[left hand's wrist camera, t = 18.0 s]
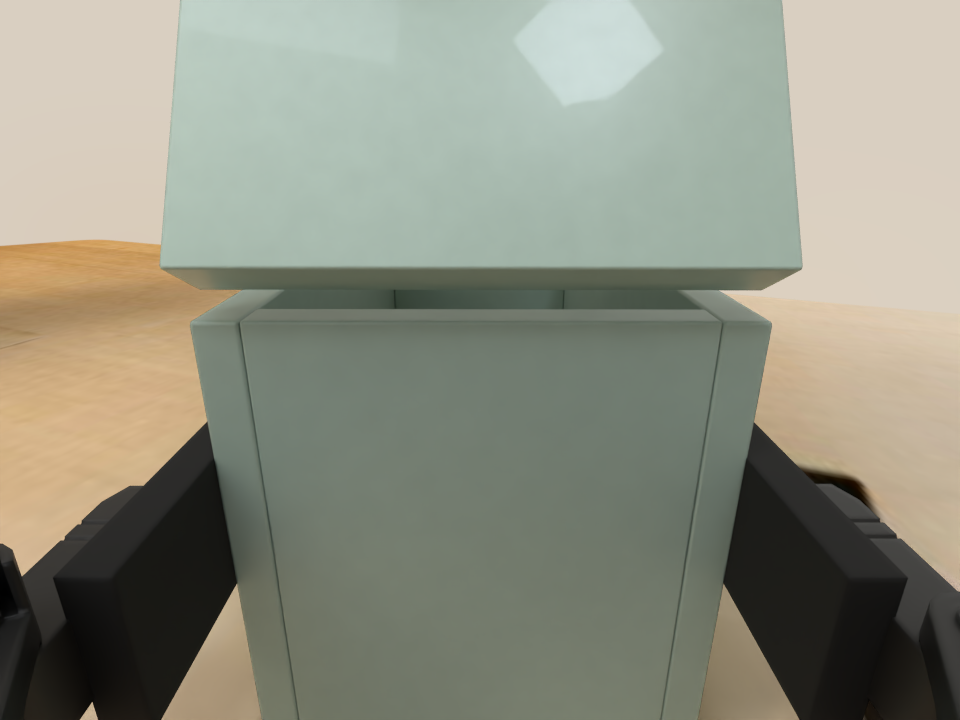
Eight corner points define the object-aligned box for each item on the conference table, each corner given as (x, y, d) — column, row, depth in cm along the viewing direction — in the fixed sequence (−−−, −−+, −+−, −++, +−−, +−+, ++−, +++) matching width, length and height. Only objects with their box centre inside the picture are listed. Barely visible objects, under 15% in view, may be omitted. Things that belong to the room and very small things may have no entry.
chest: (386, 416, 29) (374, 208, 25) (571, 416, 29) (584, 208, 25) (268, 766, 13) (187, 321, 9) (690, 765, 13) (774, 322, 9)
